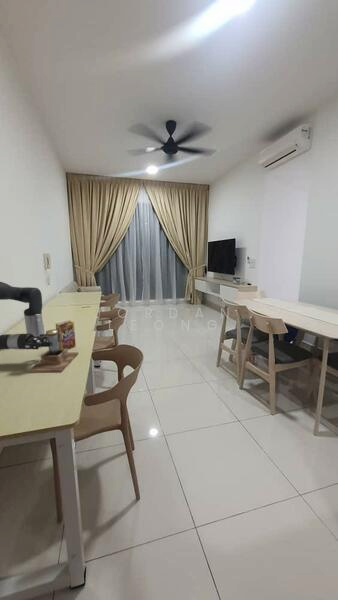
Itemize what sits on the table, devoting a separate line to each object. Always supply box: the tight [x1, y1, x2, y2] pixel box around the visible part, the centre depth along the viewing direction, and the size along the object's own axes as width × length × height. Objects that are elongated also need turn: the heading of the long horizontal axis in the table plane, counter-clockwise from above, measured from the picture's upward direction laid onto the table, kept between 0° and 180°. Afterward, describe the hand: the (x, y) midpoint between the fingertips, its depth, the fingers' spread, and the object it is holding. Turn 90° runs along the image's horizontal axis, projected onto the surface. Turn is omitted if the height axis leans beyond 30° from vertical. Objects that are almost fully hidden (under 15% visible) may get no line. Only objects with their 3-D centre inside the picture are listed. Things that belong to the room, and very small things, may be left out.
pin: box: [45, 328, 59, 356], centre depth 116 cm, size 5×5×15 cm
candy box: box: [55, 319, 77, 350], centre depth 134 cm, size 9×4×15 cm, turn 144°
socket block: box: [28, 349, 80, 373], centre depth 117 cm, size 20×15×5 cm
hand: (54, 341), depth 116 cm, fingers open, 8 cm apart
